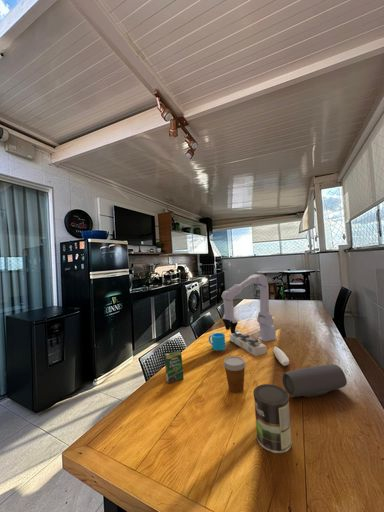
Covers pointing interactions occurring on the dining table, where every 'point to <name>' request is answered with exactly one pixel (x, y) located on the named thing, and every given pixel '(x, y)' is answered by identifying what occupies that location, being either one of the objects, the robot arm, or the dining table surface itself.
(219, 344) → the mug
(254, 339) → the rocker slate
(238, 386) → the disposable coffee cup
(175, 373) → the coffee box
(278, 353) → the white corn cob
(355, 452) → the dining table surface
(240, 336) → the rocker dark gray
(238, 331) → the dark grey block
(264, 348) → the power strip
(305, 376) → the bluetooth speaker
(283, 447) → the coffee can
